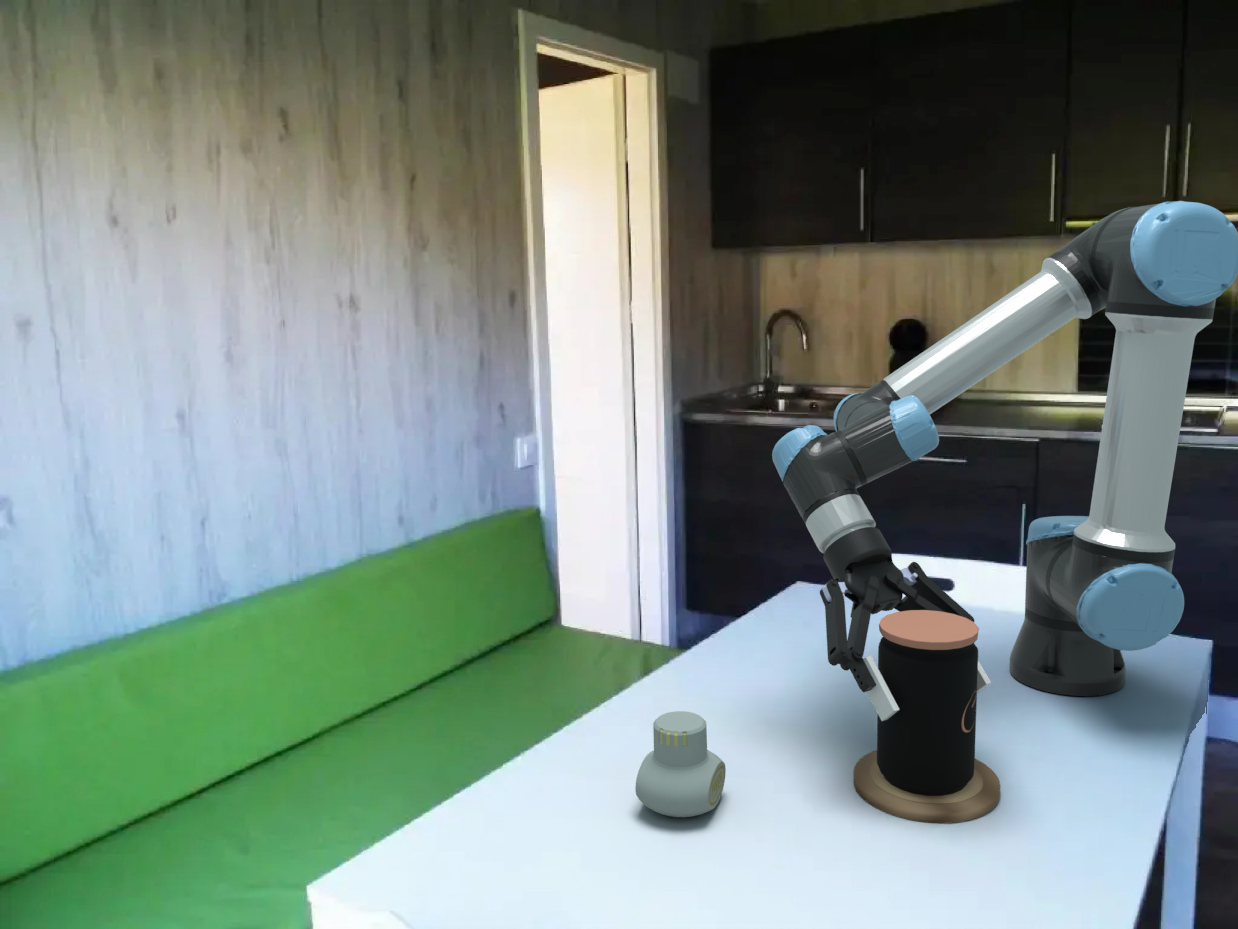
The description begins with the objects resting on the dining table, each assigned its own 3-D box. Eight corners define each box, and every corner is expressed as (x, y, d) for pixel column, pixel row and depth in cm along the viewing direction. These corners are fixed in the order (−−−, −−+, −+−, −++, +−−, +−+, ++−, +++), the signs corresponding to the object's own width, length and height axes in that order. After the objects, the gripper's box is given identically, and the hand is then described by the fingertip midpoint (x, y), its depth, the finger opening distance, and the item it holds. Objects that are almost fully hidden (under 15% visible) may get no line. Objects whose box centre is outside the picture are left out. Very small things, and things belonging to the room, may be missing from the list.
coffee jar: (979, 802, 114) (985, 644, 110) (877, 795, 116) (880, 640, 112) (968, 757, 124) (973, 611, 120) (875, 751, 126) (877, 607, 123)
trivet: (968, 751, 128) (968, 741, 128) (1024, 819, 112) (1024, 807, 112) (838, 757, 128) (838, 747, 127) (875, 827, 112) (876, 815, 112)
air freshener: (662, 777, 124) (660, 697, 123) (730, 787, 122) (728, 706, 120) (630, 823, 114) (627, 737, 113) (703, 835, 112) (701, 747, 110)
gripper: (911, 542, 135) (998, 691, 125) (751, 574, 124) (833, 741, 114) (943, 510, 130) (1037, 663, 119) (778, 540, 118) (866, 713, 108)
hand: (937, 702), depth 117 cm, fingers open, 13 cm apart
